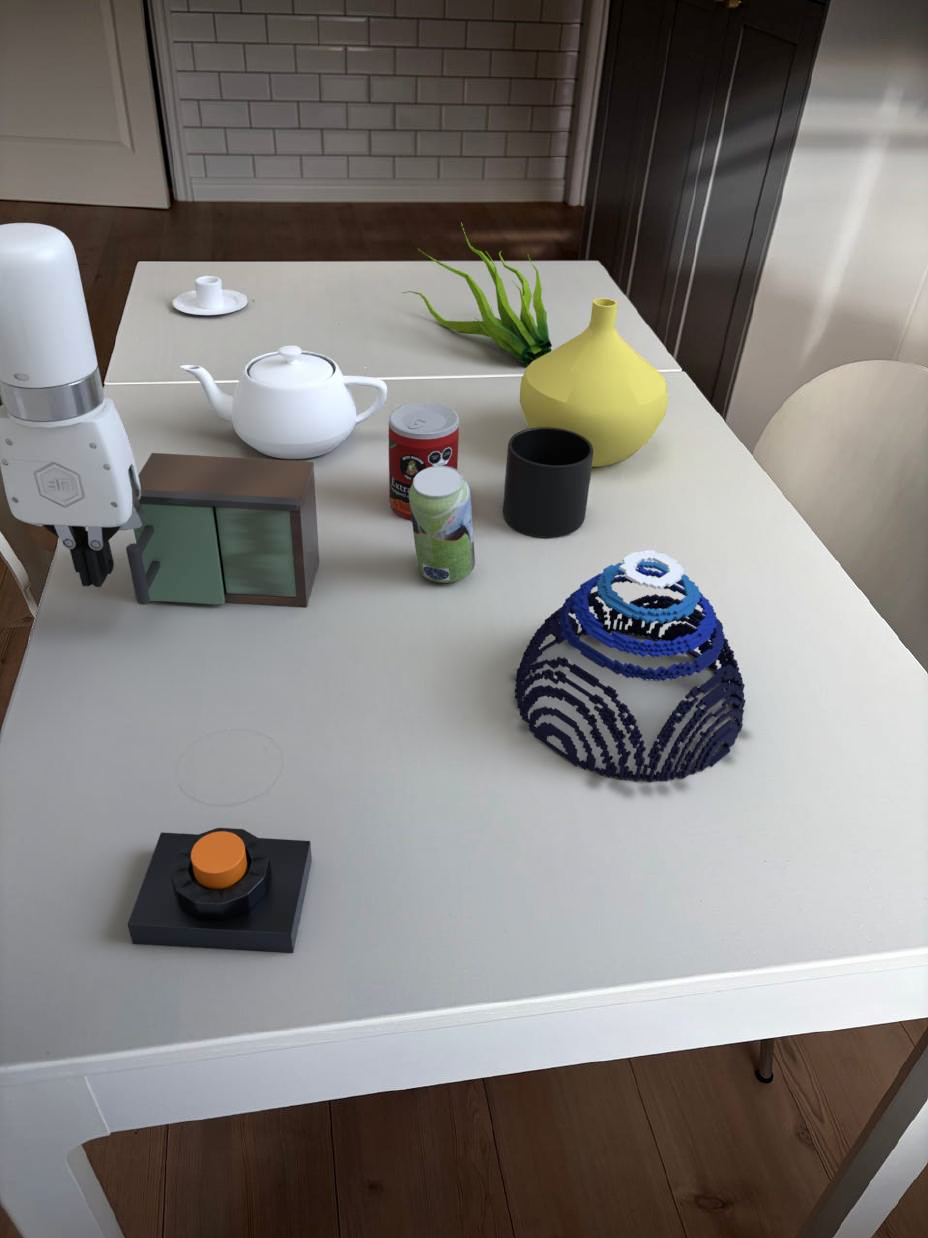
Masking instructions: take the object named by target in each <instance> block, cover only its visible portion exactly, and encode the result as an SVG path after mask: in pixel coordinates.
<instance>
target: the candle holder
mask: <svg viewBox="0 0 928 1238" xmlns="http://www.w3.org/2000/svg"><path fill="white" fill-rule="evenodd" d="M194 287H195V289H194V290H193V289H192V290H189V291H186V292H182V293H180V294H178V295H177V296H175V297H174V298H173V300H172V304H171V305H172V306H173V308H175V309H176V310H177V311H179V312H182V313H186V314H189V315H195V316H219V315H225V314H229V313H233V312H236V311H239V310H241V309H243V308H244V307H246V306H247V304H248V302H249V299H248V297H247V296H246V295H245V294H244V293H242V292H239V291H236V290H232V289H226V288H223V284H222V279H221V278H220V277H218V276H215V275H204V276H199V277H197V278H195V279H194Z"/></svg>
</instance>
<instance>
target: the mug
mask: <svg viewBox="0 0 928 1238" xmlns="http://www.w3.org/2000/svg"><path fill="white" fill-rule="evenodd" d="M506 449H507V450H506V463H505V476H504V491H503V502H502V503H503V505H502V515H503V518H504V520H505V521H506V523H507V524H508V525H509V526H511V527H512V528H513V529H514V530H516V531H518V532H521V533H523V534H526V535H529V536H532V537H539V538H557V537H558V538H559V537H564V536H568V535H570V534H572V533H575V532H576V531H577V530H579V529H580V528H581V527H582V525H583V523H584V521H585V519H586V511H587V505H588V497H589V489H590V482H591V475H592V473H591V472H592V468H593V467H592V460H593V453H594V452H593V447H592V444H591V443H590V442H589V441H588V440H587V439H586V438H585V437H583V436H581V435H579V434H577V433H575V432H572V431H569V430H565V429H560V428H552V427H536V428H530V429H529V428H525V429H522V430H520V431H517V432H515V433H514V434H513V435H512V436H511V437H510V438H509V439H508V442H507V448H506Z"/></svg>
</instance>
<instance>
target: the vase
mask: <svg viewBox="0 0 928 1238" xmlns="http://www.w3.org/2000/svg"><path fill="white" fill-rule="evenodd" d="M591 305H592V306H591V312H590V321H589V325H588V326H587V327H586V328H585V329H584V330H583V331H582V332H581V333H579V334H577V335H576V336H575V337H573V338H571V339H570V340H568V341H567V342H564V343H563V344H562V345H560V346H558V347H556V348H554V349H552V351H551V352H549V353H547V354H545V355H543V356H542V357H540V358H538V359H536V360H534V361H533V362H532V363H531V364H530V365H529V366H528V365H527V367H526V369H525V370H524V373H523V374H522V376H521V381H520V386H519V404H520V407H521V411H522V413H523V416H524V419H525V422H526V425H527V427H528V429H530V428H536V427H552V428H560V429H565V430H569V431H572V432H575V433H577V434H579V435H581V436H583V437H585V438H586V439H587V440H588V441H589V442H590V443H591V444H592V447H593V452H594V453H593V460H592V467H591V468H599V467H606V466H611V465H614V464H617V463H620V462H621V461H625V460H627V459H629V458H630V457H632V456H633V455H634V454H636V453H637V452H638V451H640V449H642V448H643V447H644V446H645V445H646V444H648V443H649V441H650V440H651V438H653V436H654V434H655V433H656V431H657V429H658V428H659V426H660V425H661V423H662V422H663V420H664V418H665V417H666V413H667V408H668V403H669V392H668V391H669V390H668V386H667V382H666V379H665V377H664V376H663V375H662V373H661V372H660V371H659V370H658V369H656V367H654V366H653V365H652V364H651V363H649V362H648V360H646V359H645V358H644V357H643V356H641V355H640V354H639V353H638V352H637V351H636V350H635V349H634V348H633V347H632V346H631V345H630V344H629V343H628V342H627V341H626V340H625V339H623V338H622V337H621V335H620V333H619V332H618V330H617V329H616V319H617V312H618V305H619V303H618V301H617V300H615V299H612V298H607V297H598V298H595V299H593V300H592V304H591Z"/></svg>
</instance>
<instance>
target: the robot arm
mask: <svg viewBox="0 0 928 1238" xmlns="http://www.w3.org/2000/svg"><path fill="white" fill-rule="evenodd" d="M88 313H89V312H88V308H87V303H86V298H85V294H84V289H83V283H82V279H81V273H80V269H79V264H78V259H77V254H76V252H75V248H74V245H73V243H72V241H71V240H70V238H69V237H68V236H67V235H66V233H65V232H63V231H62V230H60V229H58V228H57V227H54V226H52V225H47V224H43V223H42V224H41V223H35V222H34V223H33V222H14V223H3V224H0V401H1V404H2V405H0V472H1V477H2V482H3V486H4V491H5V495H6V499H7V503H8V507H9V509H10V512H11V514H12V516H14V517H15V518H16V519H17V520H19V521H21V522H22V523H24V524H25V523H26V524H28V525H33V526H37V527H44V528H45V529H46V530H48V532H50V533H51V534H53V535H54V536H56V537H57V538H58V539H59V540H60V543H61V545H62V547H64V548H65V549H68V550H69V553H70V555H71V560H72V564H73V568H74V571H75V573H76V574H77V573H78V575H79V579H80V583H81V586H82V587H90V586H93V587H94V588H102V586H103V584H104V582H105V581H106V579H107V578H108V575H111V574H112V573H113V571H114V566H115V564H114V563H115V562H114V558H113V554H112V549H111V545H110V540H111V539H112V538H113V537H114V536H115V535H116V534H117V533H118V532H119V531H129V530H134V529H136V528H140V527H141V526H142V524H143V523H144V521H145V519H146V515H145V513H144V511H143V509H142V507H141V505H140V502H139V499H140V497H141V487H140V481H139V476H138V475H139V472H138V467H137V464H136V459H135V457H134V453H133V449H132V446H131V443H130V439H129V437H128V434H127V431H126V429H125V426H124V424H123V421H122V419H121V416H120V414H119V411H118V410H117V407H116V405H115V403H114V401H113V400H112V398H110V397H105V393H104V388H103V387H104V386H103V383H102V378H101V373H100V367H99V363H98V358H97V354H96V348H95V343H94V338H93V333H92V329H91V328H92V327H91V323H90V318H89V314H88ZM86 529H87V530H86Z"/></svg>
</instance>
